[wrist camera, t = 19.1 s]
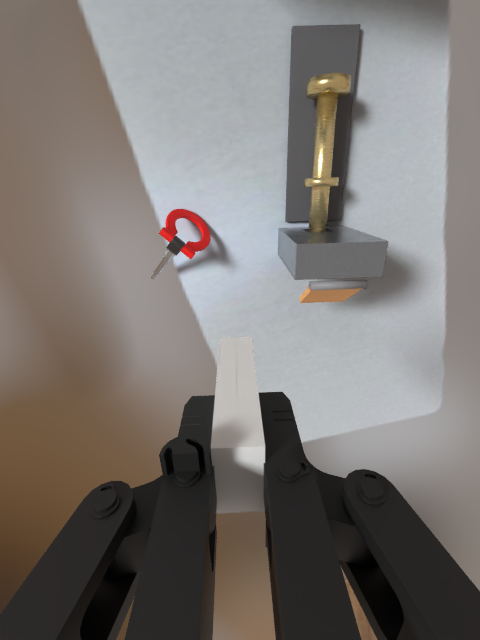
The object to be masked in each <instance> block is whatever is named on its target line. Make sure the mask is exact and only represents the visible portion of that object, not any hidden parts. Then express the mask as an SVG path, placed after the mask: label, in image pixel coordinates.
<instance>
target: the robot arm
mask: <svg viewBox="0 0 480 640" xmlns="http://www.w3.org/2000/svg"><path fill="white" fill-rule="evenodd" d="M159 456H160V462H161V467H162V472H163V475H162V476H160V477H159V478H157V479H156V480H154V481H152V482H150V483H147V484H144V485H141V486H139V487H135V488H132V489H131V488H130V486H129V485H128V484H127V483H124V482H122V481H110V482H107V483H104V484H101V485H100V486H98V487H97V488H95V489H93V490H92V491H91V492H90V493H89V494H88V495H87V496H86V497H85V498H84V499H83V501H82V502H81V504H80V505H79V506H78V508H77V509H76V511H75V512H74V513H73V515H72V516H71V517H70V519H69V520H68V522H67V523H66V525H65V526H64V527H63V529H62V530H61V531H60V533H59V534H58V535H57V537H56V538H55V540H54V541H53V542H52V544H51V545H50V546H49V548H48V549H47V551H46V552H45V553H44V555H43V556H42V558H41V559H40V560H39V562H38V563H37V564H36V566H35V567H34V569H33V570H32V571H31V573H30V574H29V575H28V577H27V578H26V580H25V581H24V582H23V584H22V585H21V586H20V588H19V589H18V591H17V592H16V593H15V595H14V596H13V597H12V599H11V600H10V602H9V603H8V604H7V606H6V607H5V609H4V610H3V611H2V613H1V614H0V640H116V638H117V636H118V633H119V631H120V629H121V626H122V624H123V622H124V620H125V617H126V615H127V613H128V610H129V608H130V606H131V603H132V601H133V599H134V602H133V607H132V611H131V615H130V619H129V623H128V628H127V632H126V636H125V640H212V635H213V612H214V611H213V610H214V588H215V564H216V542H217V530H216V510H217V513H235V512H258V511H265V516H266V547H267V549H268V561H269V571H270V582H271V592H272V603H273V614H274V625H275V634H276V640H361V637H360V633H359V630H358V626H357V623H356V619H355V616H354V612H353V608H352V605H351V601H350V598H349V594H348V591H347V587H346V584H345V580H344V577H343V573H342V569H343V571H344V573H345V575H346V577H347V579H348V581H349V583H350V585H351V587H352V589H353V591H354V593H355V595H356V597H357V599H358V601H359V603H360V605H361V607H362V609H363V611H364V613H365V615H366V617H367V619H368V621H369V623H370V625H371V627H372V629H373V631H374V633H375V635H376V637H377V639H378V640H480V591H479V590H478V589H477V588H476V586H475V585H474V584H473V583H472V581H470V579H469V578H468V576H467V575H466V574H465V573H464V572H463V570H462V569H461V568H460V567H459V565H458V564H457V563H456V562H455V560H454V559H453V558H452V557H451V556H450V554H449V553H448V552H447V551H446V549H445V548H444V547H443V546H442V544H441V543H440V542H439V541H438V539H437V538H436V537H435V536H434V535H433V533H432V532H431V531H430V530H429V528H428V527H427V526H426V525H425V524H424V522H423V521H422V520H421V519H420V517H419V516H418V515H417V514H416V513H415V511H414V510H413V509H412V508H411V506H410V505H409V504H408V503H407V501H406V500H405V499H404V498H403V496H402V495H401V494H400V493H399V492H398V490H397V489H396V488H395V487H394V485H393V484H392V483H391V482H389V481H388V480H387V479H386V478H385V477H384V476H382V475H380V474H378V473H376V472H374V471H370V470H365V469H363V470H355V471H353V472H351V473H349V474H348V476H347V477H346V478H342V477H338V476H334V475H330V474H327V473H324V472H322V471H320V470H318V469H316V468H315V467H314V466H313V465H312V464H310V462H309V461H308V460H307V458H306V456H305V454H304V451H303V447H302V443H301V440H300V436H299V432H298V429H297V425H296V421H295V417H294V414H293V410H292V406H291V402H290V400H289V399H288V398H287V397H286V395H285V394H284V393H283V392H266V393H258V385H257V377H256V369H255V361H254V353H253V345H252V337H235V338H220V344H219V355H218V367H217V379H216V391H215V395H212V396H192V397H191V398H190V399H189V401H188V402H187V403H186V405H185V407H184V411H183V417H182V420H181V426H180V429H179V434H178V437H176V438H174V439H173V440H170V441H169V442H168V443H167V444H166V445H165V446H164V447H163V448H162V450H161V452H160V454H159ZM340 565H341V566H340ZM341 567H342V569H341ZM134 596H135V598H134Z"/></svg>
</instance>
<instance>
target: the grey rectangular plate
mask: <svg viewBox="0 0 480 640" xmlns="http://www.w3.org/2000/svg"><path fill="white" fill-rule="evenodd" d="M387 246H388V241H386V240H383V239H380V238H378V237H375V236H372V235H369V234H366V233H363V232H360V231H357V230H354V229H351V228H348V227H345V226H334V227H327V228H326V232H309V227H302V228H279V232H278V255H279V257H280V258H281V260H282V261H283V263H284V264H285V266H286V267H287V269H288V270H289V272H290V273H291V275H292V276H293V278H294V279H295V280H303V279H334V278H364V277H382V275H383V270H384V264H385V258H386V252H387Z"/></svg>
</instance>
